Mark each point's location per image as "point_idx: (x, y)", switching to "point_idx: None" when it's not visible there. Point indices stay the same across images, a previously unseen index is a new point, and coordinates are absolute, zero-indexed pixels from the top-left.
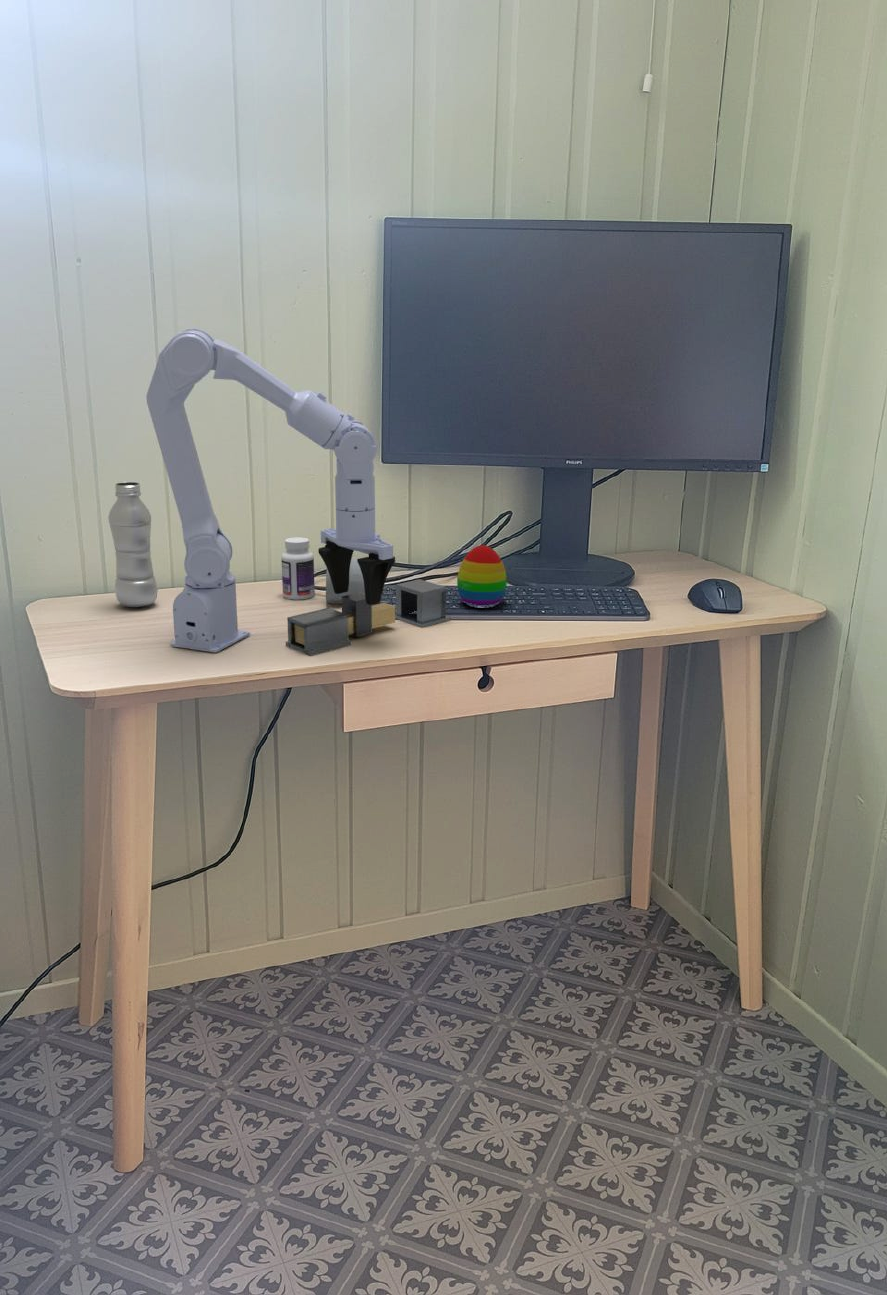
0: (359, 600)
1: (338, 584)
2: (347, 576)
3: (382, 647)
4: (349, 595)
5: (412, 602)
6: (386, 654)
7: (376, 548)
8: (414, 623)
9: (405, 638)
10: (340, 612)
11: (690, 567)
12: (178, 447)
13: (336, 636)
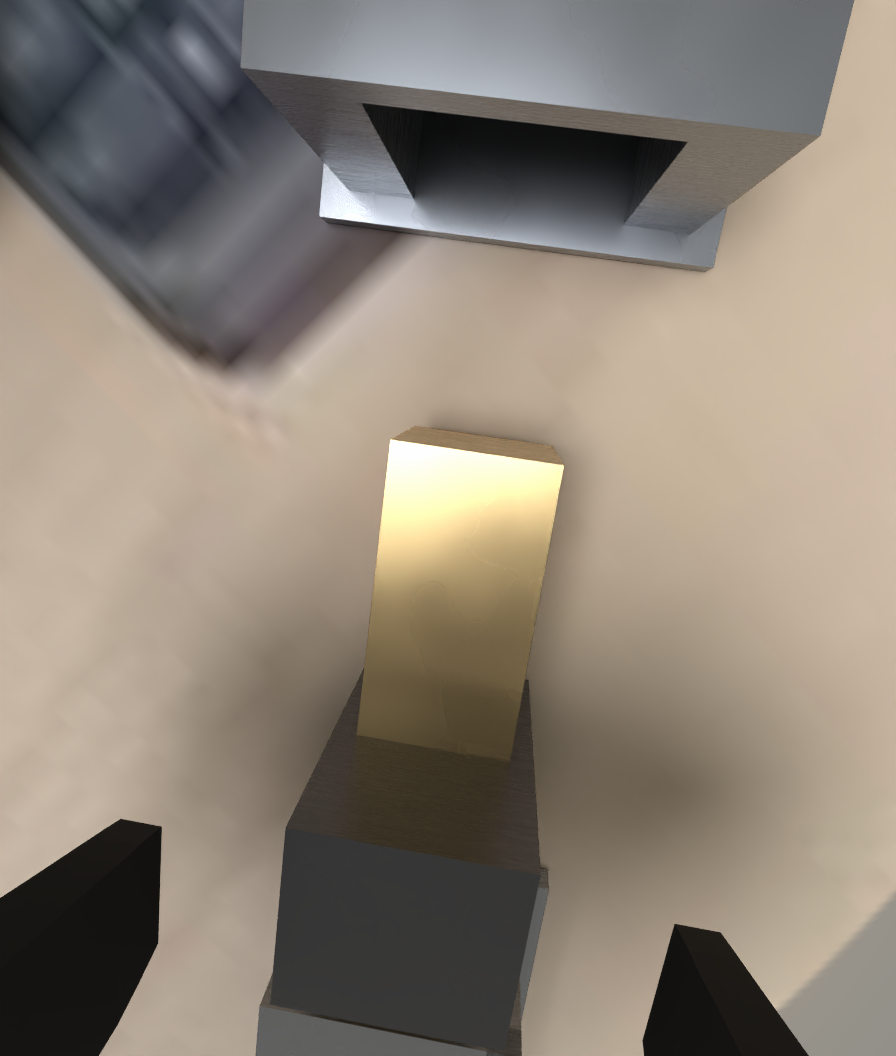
0: (510, 1011)
1: (95, 1025)
2: (29, 969)
3: (737, 797)
4: (302, 941)
5: None
6: (843, 879)
7: None
8: (611, 256)
9: (754, 566)
10: (432, 1049)
11: None
12: None
13: None
